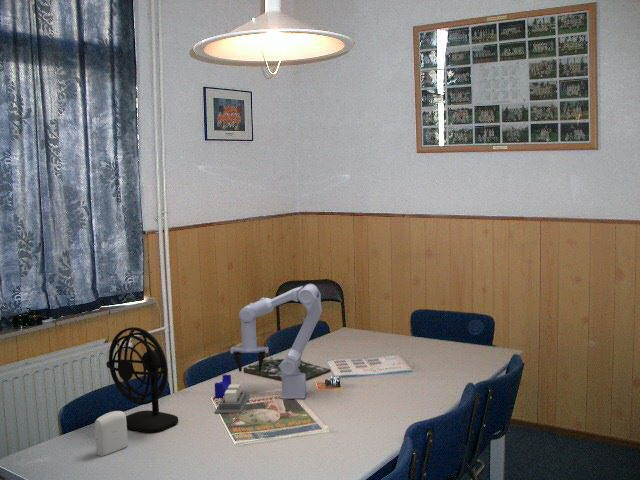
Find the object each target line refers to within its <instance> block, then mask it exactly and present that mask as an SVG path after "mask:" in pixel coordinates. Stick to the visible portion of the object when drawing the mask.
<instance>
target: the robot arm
mask: <svg viewBox="0 0 640 480" xmlns="http://www.w3.org/2000/svg"><path fill="white" fill-rule="evenodd" d="M321 295H322V294H321V292H320V290H319V288H318V287H317V286H316V285H315V284H313V283H308V284H305V285H301V286H297V287H295V288H292V289H290V290H288V291H286V292H284V293H282V294H280V295H278V296H275V297H273V298H269V297H261V298H260V299H259V300H258V301H255V302H250V303H249V304H247V305H246V306H244V307H242V308H241V309H240V310H239V312H238V318H239V319H240V323H241V324H240V327H241V329H240V330H241V346H232V347H230V354H233V359H234V360H235V362H236V364H237V365H236V366H237V368H238V371H239V373H241V372H242V371H243V365H242V353H243V354H247V353H248V354H249V353H251V354H253V353H255V354H257V353H258V354H257V358H258V362H259V372H261V368H262V363H263V360H265V356H266V354H268V353H269V352H270V351H269V346H260V345H258V343H257V342H258V341H257V340H258V339H257V324H256V323H257V322H256V321H257V320H256V318H259V317H262V316H265V315H267V314H269V313H271V312H273V311H274V308H275V307H277V306H280V305H283V304H285V303H288V302H290V301H294V302H297V303H298V302H300V303H301V304H302V305H303V306H304V308H305V309H306V312H307V315H306V316H305V319H304V321H303V323H302V325H301V327H300V329H299V331H298V333H297V336H296V338H295V340H294V342H293V344H292V346H291V348H290V349H289V352H288V353H287V355H286V356H285V358H283V359H284V360H283V361H282V362H281V364H280V370H281V374H282V381H281V394H280V397H279V399H280V398H282V399H281V400H283V399H285V400H286V399H289V400H290V399H294V400H296V399H298V400H299V399H301V400H302V399H306V396H307V381H306V374H305V373H300V370H299V368H298V367H299V366H300V364H301V360H302V359H301V358H302V357H303V355H304V354H303V353H304V351H305V349H306V347H307V344H308V343H309V340H310V338H311V336H312V334H313V332H314V329H315V327H316V325H317V324H318V322H319V320H320V317H321V315H322V313H323V309H322V299H321Z"/></svg>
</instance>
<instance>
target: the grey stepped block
mask: <svg viewBox="0 0 640 480" xmlns="http://www.w3.org/2000/svg"><path fill="white" fill-rule="evenodd" d="M228 390H237V398H238V403H225V395H224V397H223V398H222V399H221V400H220V402H219V404H218V406H217V407H216V409H215V411H214V415H216V414H217V415H221V414H220V413H242V412H244V411H243V409H244V407H245V408H246V406H247V404H248V402H249V400H250V398H251V396H250V395H251V394H250V393H247V391H243V390H241V384H239V383H235V384H233V383H231V384H230V385H229V387H228ZM249 397H250V398H249ZM248 399H249V400H248ZM247 401H248V402H247ZM246 403H247V404H246ZM245 405H246V406H245ZM244 410H245V409H244ZM242 414H243V413H242Z"/></svg>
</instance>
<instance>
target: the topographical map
mask: <svg viewBox="0 0 640 480" xmlns="http://www.w3.org/2000/svg"><path fill="white" fill-rule="evenodd" d="M284 359H285V358H273V357H270V358H264V359H263V363H262V368H261V372H259V361H258V362H257V363H254V364H253V365H248V366H246V367H242V370H243V373H244V374H247V375H252V376H256V377H260V378H265V379H269V380H274V381H278V382H282V374H281V370H280V364H281V362H282V361H283V360H284ZM298 368H299V370H300V373H305V374H306V382H307V381H310V380H313V379H316V378H318V377H320V376H323V375H326V374H328V373H331V372H332V369H331V368H326V367H323V366H319V365H315V364H313V363H309V362H305V361H303V360H302V359H301V364H300V366H299V367H298Z"/></svg>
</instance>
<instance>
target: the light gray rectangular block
mask: <svg viewBox="0 0 640 480" xmlns="http://www.w3.org/2000/svg"><path fill="white" fill-rule="evenodd" d="M225 403H238V398H237V390H226V392H225Z"/></svg>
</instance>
